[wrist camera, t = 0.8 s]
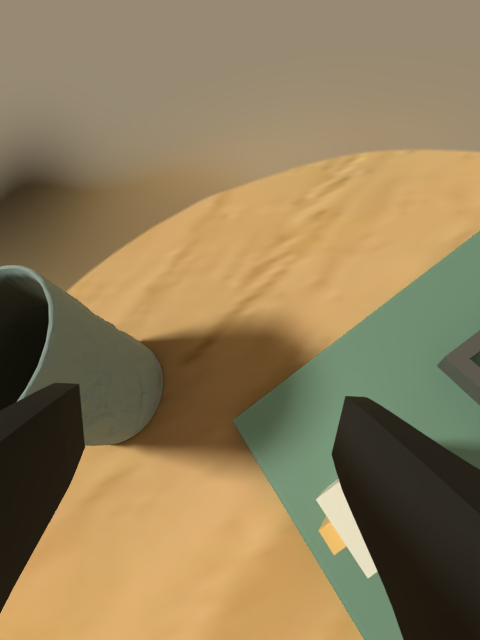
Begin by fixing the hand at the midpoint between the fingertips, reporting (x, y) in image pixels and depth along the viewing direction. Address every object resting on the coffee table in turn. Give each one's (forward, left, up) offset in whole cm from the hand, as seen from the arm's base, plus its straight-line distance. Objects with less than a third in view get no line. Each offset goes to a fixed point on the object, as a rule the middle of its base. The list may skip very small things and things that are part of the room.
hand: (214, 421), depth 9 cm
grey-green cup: (+11, +10, -14) cm, 21 cm away
